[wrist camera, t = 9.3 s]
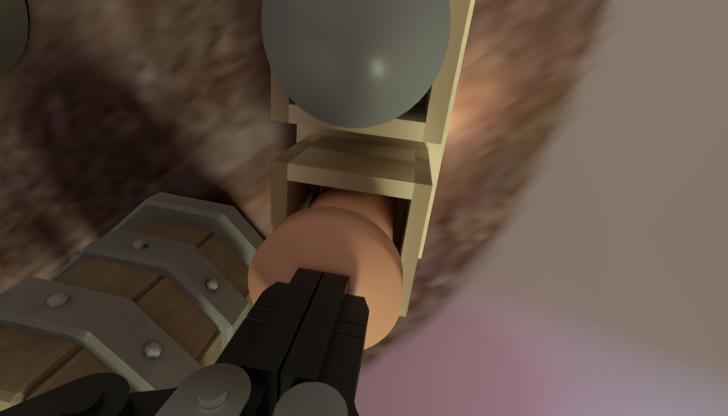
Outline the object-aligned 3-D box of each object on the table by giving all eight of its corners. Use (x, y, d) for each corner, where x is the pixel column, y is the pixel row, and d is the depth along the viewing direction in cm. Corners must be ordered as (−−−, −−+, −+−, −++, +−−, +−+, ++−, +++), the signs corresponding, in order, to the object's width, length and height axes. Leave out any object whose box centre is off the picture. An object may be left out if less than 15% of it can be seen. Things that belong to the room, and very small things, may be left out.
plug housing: (313, 208, 23) (254, 292, 14) (326, -28, 17) (245, -106, 9) (420, 225, 22) (422, 323, 14) (467, -14, 17) (516, -83, 9)
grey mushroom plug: (323, 93, 16) (262, 116, 9) (330, -27, 14) (260, -98, 8) (425, 106, 15) (430, 139, 9) (446, -15, 13) (472, -79, 7)
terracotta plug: (308, 239, 17) (249, 338, 11) (313, 150, 16) (245, 211, 9) (399, 255, 17) (389, 366, 11) (415, 165, 15) (414, 239, 9)
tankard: (196, 160, 23) (-145, 317, 9) (318, 297, 26) (204, 572, 12) (48, 291, 29) (-274, 495, 16) (158, 387, 32) (-31, 628, 19)
